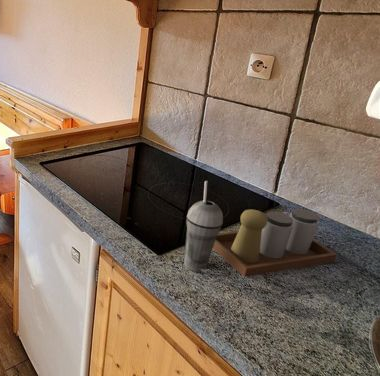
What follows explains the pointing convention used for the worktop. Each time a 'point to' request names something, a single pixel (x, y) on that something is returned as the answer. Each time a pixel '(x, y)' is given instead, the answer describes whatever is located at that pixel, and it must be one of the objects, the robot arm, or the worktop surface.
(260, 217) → the cork
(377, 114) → the robot arm
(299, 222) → the grey shaker
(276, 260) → the spice tray
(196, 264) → the beverage cup
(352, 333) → the worktop surface
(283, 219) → the cylinder
